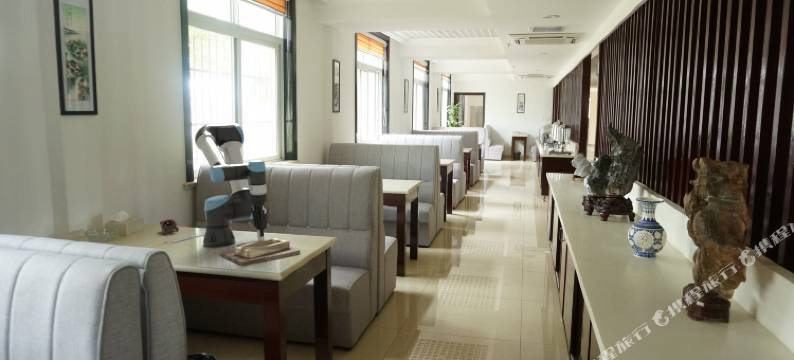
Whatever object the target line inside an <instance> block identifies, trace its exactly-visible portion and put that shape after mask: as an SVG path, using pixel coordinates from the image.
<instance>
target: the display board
mask: <svg viewBox="0 0 794 360" xmlns="http://www.w3.org/2000/svg"><path fill="white" fill-rule="evenodd" d="M218 253H219V254H218V255H219V256H221V257H223V258H225V259H227V260H229V261H231V262H232V263H235V264H237V265H239V266H241V267H245V266H250V265H253V264H258V263H262V262H267V261H273V260H276V259H280V258H286V257H291V256H295V255H301V250H300V249H297V248H295V247H292V246H290V247H289V248H286V249H282V250H278V251H275V252H271V253H268V254H264V255H260V256H257V257H253V258H248V257H244V256H240V255H236V254H234V248H233V249H227V250H222V251H219V252H218Z"/></svg>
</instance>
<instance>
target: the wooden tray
mask: <svg viewBox="0 0 794 360" xmlns="http://www.w3.org/2000/svg"><path fill="white" fill-rule="evenodd" d="M290 243H291V242H290V240H286V239H281V238H277V237H270V238H266V239H265V238H264V240H261V241H258V240H257V241H255V242H253V241H252V242H250V243H246V244H241V245H238V246H235V247H233V249H234V254H236V255H240V256H244V257H248V258H253V257H257V256H260V255H264V254H268V253H271V252H275V251H278V250H282V249H286V248H289V247H291V246H290Z"/></svg>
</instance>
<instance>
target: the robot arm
mask: <svg viewBox="0 0 794 360" xmlns="http://www.w3.org/2000/svg"><path fill="white" fill-rule="evenodd" d="M194 142H195V145H196V147H197V149H199V150H201V151H202V154H203V155H204V157H205V159H206V161H207V163H208V165H209V166H210V168H209V177H210V180H211V181H212V182H213V183H223V182H229V183H230V189H231V194H230V196H229V195H227V194H223V195H222V194H221V195H216V196H212V197H209V198H207V199H205V200H204V208H203V210H204V218H205V231H204V234H205V235H204V234H203V235H204V236H203V239H202V245H203V246H204V247H206V248H207V247H208V248H219V247H227V246H231V245H234V244H235V243H236V237H235V234H234V232H233V229H232V227H231V225H232V224H231V222H235V221H242V220H243V221H244V220H250V219H252V220H253V221H252V222H253V227H254V228H255V229H256V233H257V241H261V240H265V229H267V224H268V223H267V222H268V213H269V209H266V205H265V203H266V202H267V201H268V195H267V193H268V192H267V176H266V162H265V161H264V160H260V159H257V160H255V159H254V160H250V161H248V162H244V160H243V155H242V153H241V149H242V147H243V145H244V143H245V134H244V131H243V128H242V126H241V125H240V124H238V123H234V122H233V123H232V122H228V123H208V124H205V125H203V126H201V127H200V128H199V129H198V130H197V132H196V134H195V137H194ZM222 153H223V154H222ZM248 181H249V182H248Z"/></svg>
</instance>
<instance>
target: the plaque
mask: <svg viewBox="0 0 794 360" xmlns="http://www.w3.org/2000/svg"><path fill="white" fill-rule="evenodd" d="M204 235H205V233H204V232H201V233H199V234H198V233H197V234H196V235H195V234H194V235H192V236H191V235H190V236H189V235H188V236H186V237H182V238H178V239H175V240H170V241H169V243H172V241H173V243H172V244H177V243H180V242H185V241H188V240H192V239H196V238H199V237H204ZM172 244H171V245H172Z"/></svg>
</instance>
